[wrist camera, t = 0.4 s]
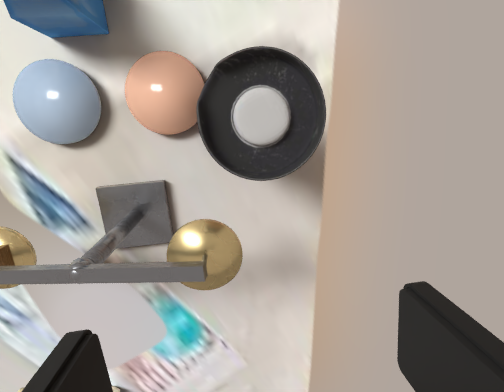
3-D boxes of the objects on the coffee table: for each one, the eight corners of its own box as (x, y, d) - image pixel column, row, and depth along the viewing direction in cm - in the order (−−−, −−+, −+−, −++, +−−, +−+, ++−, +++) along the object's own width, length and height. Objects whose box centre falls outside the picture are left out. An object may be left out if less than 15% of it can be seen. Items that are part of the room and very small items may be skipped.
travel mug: (280, 142, 37) (340, 163, 18) (221, 159, 37) (217, 198, 17) (264, 80, 35) (313, 26, 16) (203, 97, 35) (175, 64, 15)
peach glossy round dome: (121, 56, 33) (117, 54, 32) (201, 50, 34) (200, 47, 32) (136, 137, 35) (133, 137, 34) (210, 130, 36) (210, 130, 35)
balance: (26, 193, 36) (-163, 260, 18) (232, 173, 37) (238, 215, 20) (43, 253, 38) (-113, 365, 20) (238, 231, 39) (249, 317, 22)
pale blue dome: (10, 64, 32) (2, 62, 31) (94, 58, 33) (89, 56, 32) (32, 146, 34) (25, 147, 33) (110, 139, 35) (106, 140, 34)
